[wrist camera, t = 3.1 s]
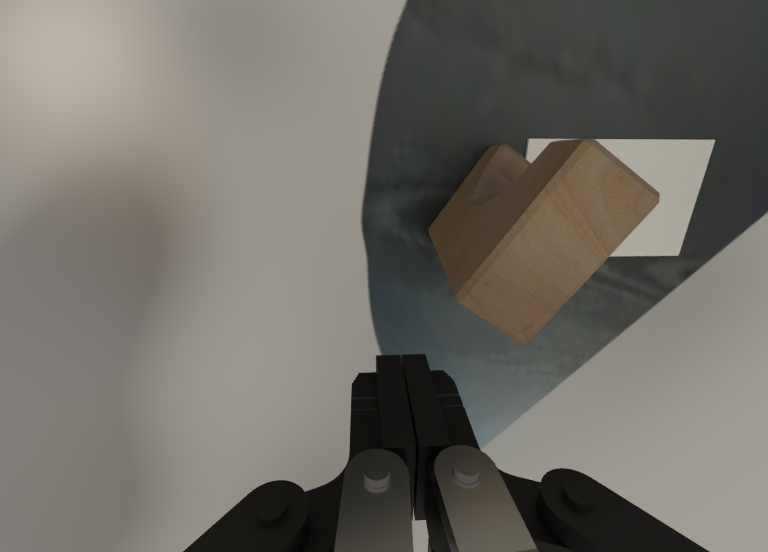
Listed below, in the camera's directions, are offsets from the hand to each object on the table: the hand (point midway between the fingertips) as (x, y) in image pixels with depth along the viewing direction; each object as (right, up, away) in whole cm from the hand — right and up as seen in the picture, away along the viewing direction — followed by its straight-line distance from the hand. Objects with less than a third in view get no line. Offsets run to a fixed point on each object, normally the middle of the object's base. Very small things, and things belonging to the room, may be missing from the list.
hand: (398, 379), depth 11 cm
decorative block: (+9, +11, +28) cm, 31 cm away
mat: (+24, +11, +29) cm, 39 cm away
